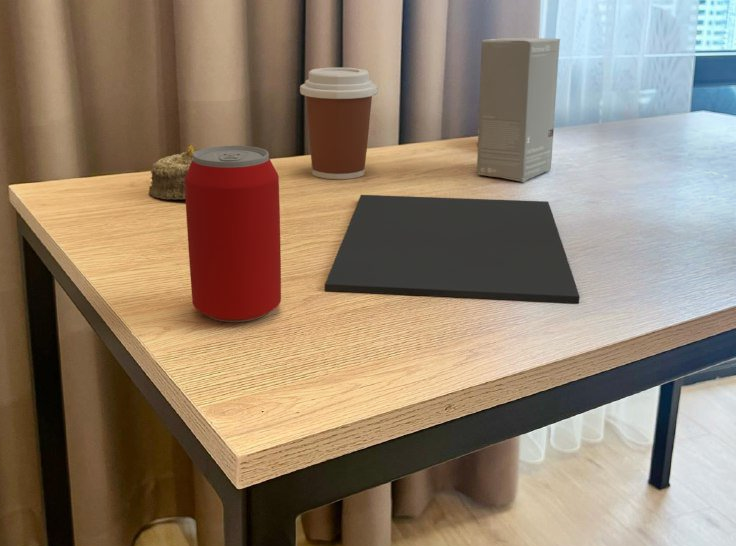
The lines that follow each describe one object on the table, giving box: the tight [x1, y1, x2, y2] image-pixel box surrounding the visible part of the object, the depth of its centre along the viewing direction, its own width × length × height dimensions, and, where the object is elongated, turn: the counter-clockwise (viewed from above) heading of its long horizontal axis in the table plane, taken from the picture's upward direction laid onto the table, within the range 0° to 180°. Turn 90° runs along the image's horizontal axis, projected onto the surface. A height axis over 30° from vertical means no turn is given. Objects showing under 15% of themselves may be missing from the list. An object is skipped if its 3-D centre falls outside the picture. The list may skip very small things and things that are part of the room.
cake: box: [148, 144, 196, 201], centre depth 100 cm, size 10×10×5 cm
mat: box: [324, 194, 581, 304], centre depth 84 cm, size 20×28×1 cm
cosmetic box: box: [476, 37, 561, 183], centre depth 106 cm, size 8×7×16 cm
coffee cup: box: [299, 67, 379, 180], centre depth 107 cm, size 9×9×12 cm
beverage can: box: [185, 145, 282, 323], centre depth 66 cm, size 7×7×12 cm
